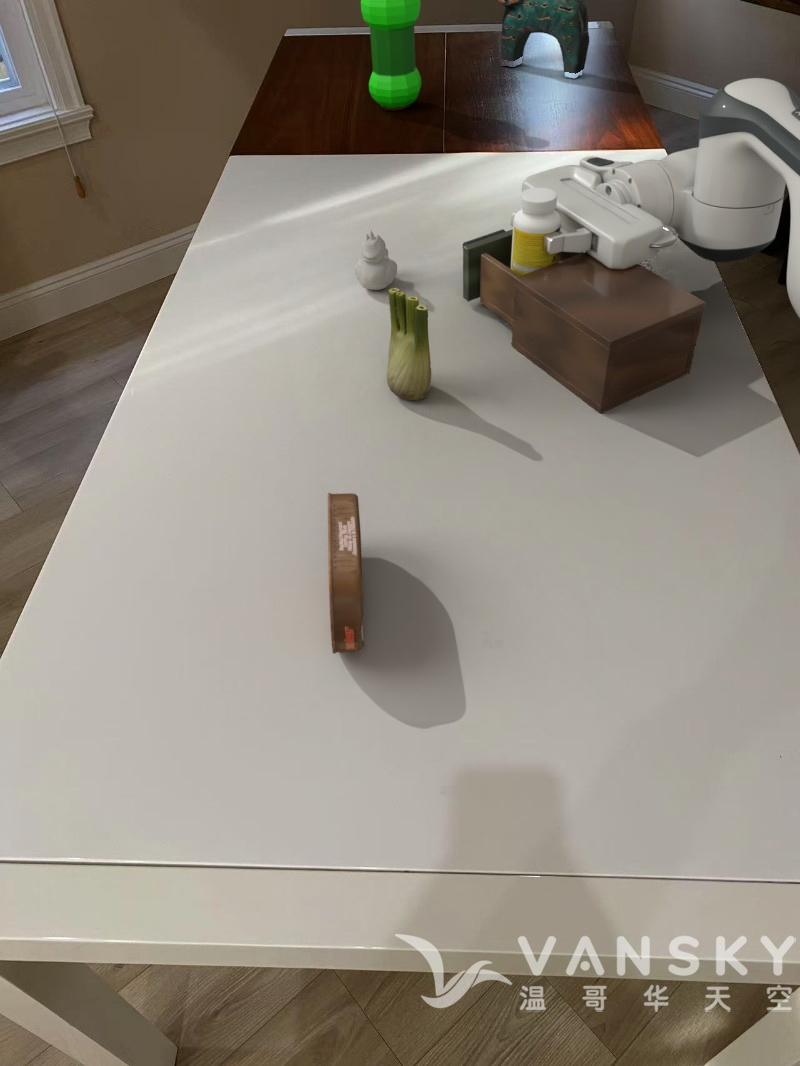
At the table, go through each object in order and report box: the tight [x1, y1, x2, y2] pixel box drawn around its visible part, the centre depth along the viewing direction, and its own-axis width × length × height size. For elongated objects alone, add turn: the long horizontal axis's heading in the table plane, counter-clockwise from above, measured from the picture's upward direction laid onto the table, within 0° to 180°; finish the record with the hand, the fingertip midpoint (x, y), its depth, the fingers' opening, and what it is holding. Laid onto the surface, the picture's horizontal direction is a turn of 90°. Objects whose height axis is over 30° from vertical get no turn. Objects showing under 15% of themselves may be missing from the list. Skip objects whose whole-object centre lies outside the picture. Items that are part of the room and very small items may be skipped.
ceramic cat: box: [496, 0, 590, 74], centre depth 159 cm, size 20×6×20 cm, turn 50°
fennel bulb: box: [386, 287, 432, 401], centre depth 88 cm, size 6×5×12 cm
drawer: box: [462, 228, 585, 327], centre depth 100 cm, size 19×12×7 cm, turn 31°
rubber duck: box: [354, 229, 398, 291], centre depth 106 cm, size 5×7×8 cm
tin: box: [327, 492, 365, 655], centre depth 68 cm, size 15×3×8 cm, turn 4°
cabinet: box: [511, 251, 707, 414], centre depth 91 cm, size 16×13×9 cm
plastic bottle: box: [360, 0, 422, 108], centre depth 147 cm, size 10×10×25 cm
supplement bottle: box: [511, 188, 561, 276], centre depth 95 cm, size 5×5×10 cm
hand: (529, 233), depth 94 cm, fingers closed on supplement bottle, 5 cm apart
